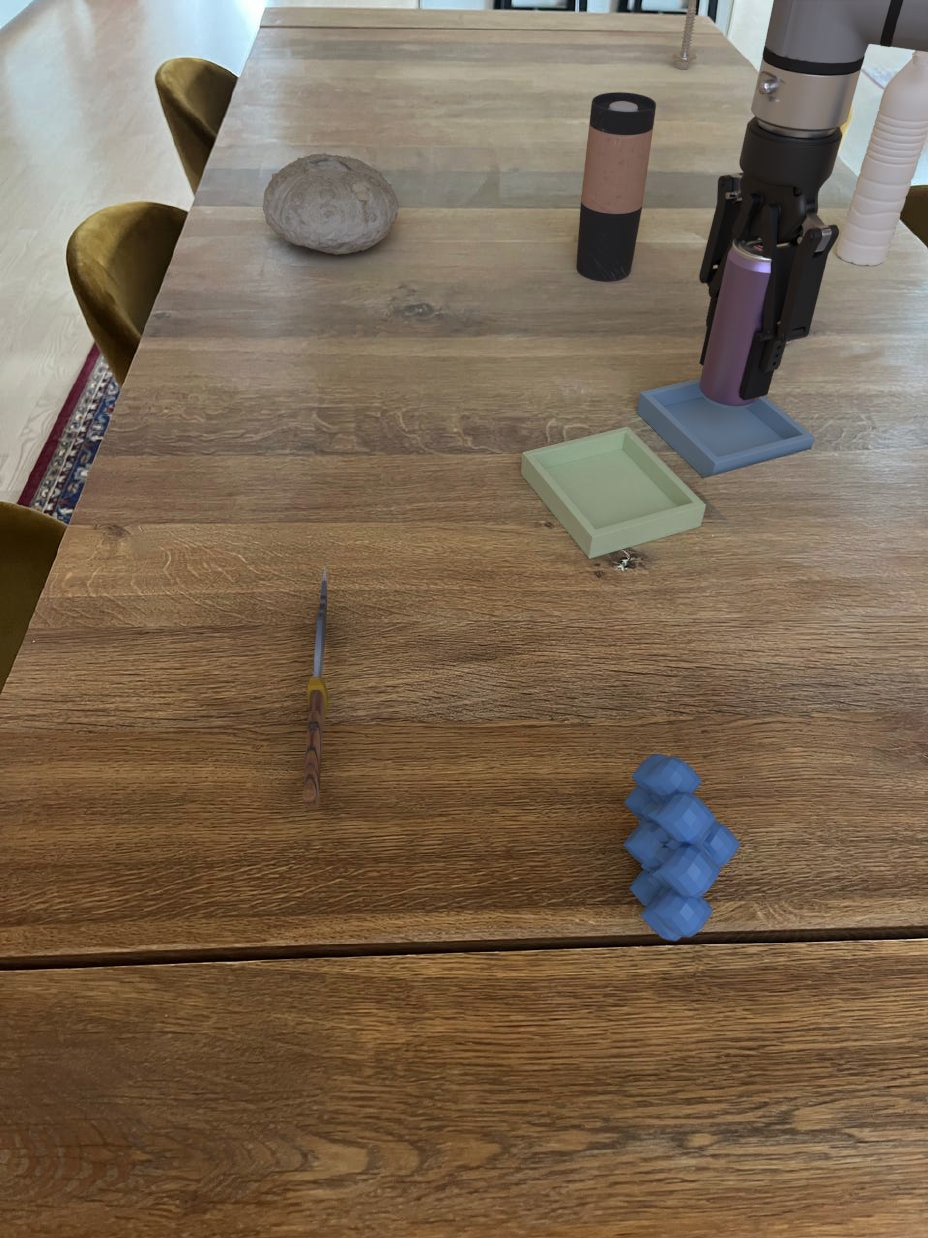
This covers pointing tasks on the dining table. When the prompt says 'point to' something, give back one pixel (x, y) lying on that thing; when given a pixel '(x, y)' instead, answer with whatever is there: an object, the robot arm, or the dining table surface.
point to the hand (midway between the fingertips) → (732, 378)
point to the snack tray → (611, 491)
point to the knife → (316, 709)
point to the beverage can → (735, 324)
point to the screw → (686, 40)
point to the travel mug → (614, 183)
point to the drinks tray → (720, 429)
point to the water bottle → (888, 166)
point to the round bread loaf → (330, 204)
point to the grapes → (674, 847)
